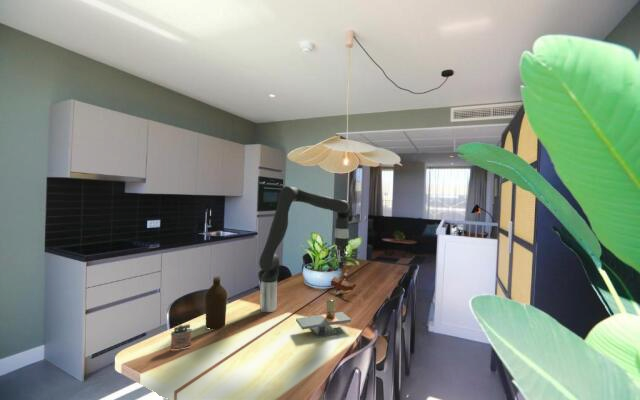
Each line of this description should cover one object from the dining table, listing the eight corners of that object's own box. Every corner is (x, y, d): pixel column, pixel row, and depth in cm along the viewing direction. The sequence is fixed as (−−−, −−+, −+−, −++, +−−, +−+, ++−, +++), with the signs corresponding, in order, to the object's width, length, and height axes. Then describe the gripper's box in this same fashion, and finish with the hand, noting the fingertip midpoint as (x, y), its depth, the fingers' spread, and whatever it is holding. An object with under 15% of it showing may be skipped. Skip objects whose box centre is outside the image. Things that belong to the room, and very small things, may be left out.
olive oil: (222, 330, 141) (223, 280, 141) (200, 330, 141) (202, 279, 141) (229, 321, 151) (230, 274, 151) (209, 320, 152) (210, 274, 151)
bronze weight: (328, 319, 142) (328, 301, 142) (324, 316, 146) (325, 298, 146) (336, 318, 144) (336, 300, 144) (332, 315, 148) (333, 297, 148)
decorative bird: (368, 291, 196) (362, 272, 193) (349, 306, 187) (343, 286, 183) (342, 280, 220) (337, 263, 216) (324, 293, 210) (318, 276, 207)
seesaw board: (302, 329, 134) (302, 326, 134) (295, 320, 143) (296, 318, 143) (351, 321, 144) (351, 319, 144) (342, 314, 153) (342, 311, 153)
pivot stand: (318, 338, 136) (319, 328, 136) (309, 327, 147) (310, 318, 147) (337, 335, 140) (337, 325, 140) (327, 324, 151) (327, 316, 151)
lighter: (170, 352, 121) (171, 328, 120) (170, 348, 124) (171, 325, 123) (191, 348, 124) (192, 325, 124) (191, 344, 127) (191, 322, 127)
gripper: (330, 235, 160) (329, 265, 160) (341, 238, 148) (340, 271, 148) (342, 234, 163) (341, 265, 163) (353, 238, 151) (352, 270, 151)
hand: (340, 268), depth 156 cm, fingers closed
